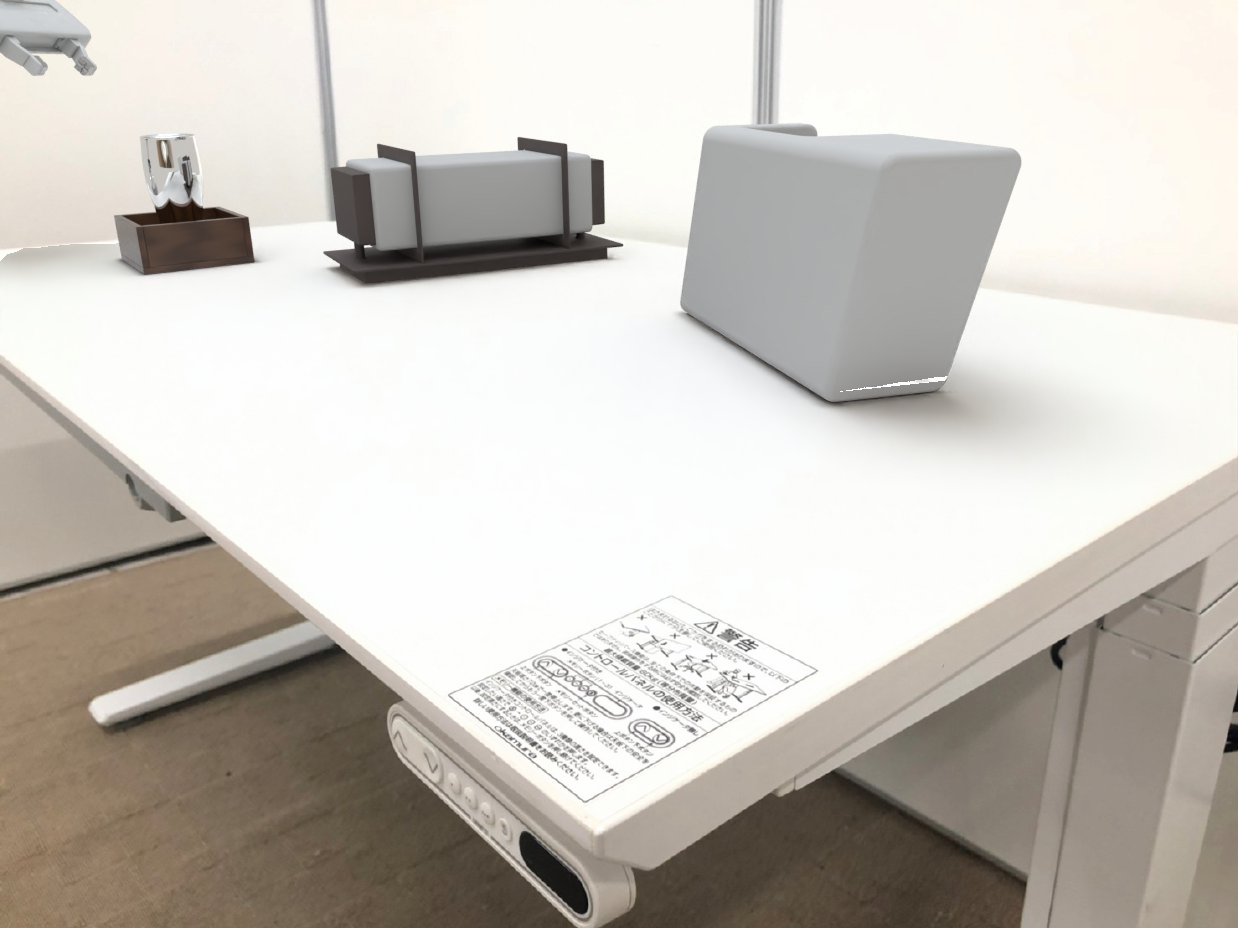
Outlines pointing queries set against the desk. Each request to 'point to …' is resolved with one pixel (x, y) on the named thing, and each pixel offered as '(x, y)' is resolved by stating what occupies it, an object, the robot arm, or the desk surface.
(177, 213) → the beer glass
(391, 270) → the light fixture
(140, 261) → the crate
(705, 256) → the grey tapered block
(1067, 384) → the desk surface
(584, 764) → the desk surface
